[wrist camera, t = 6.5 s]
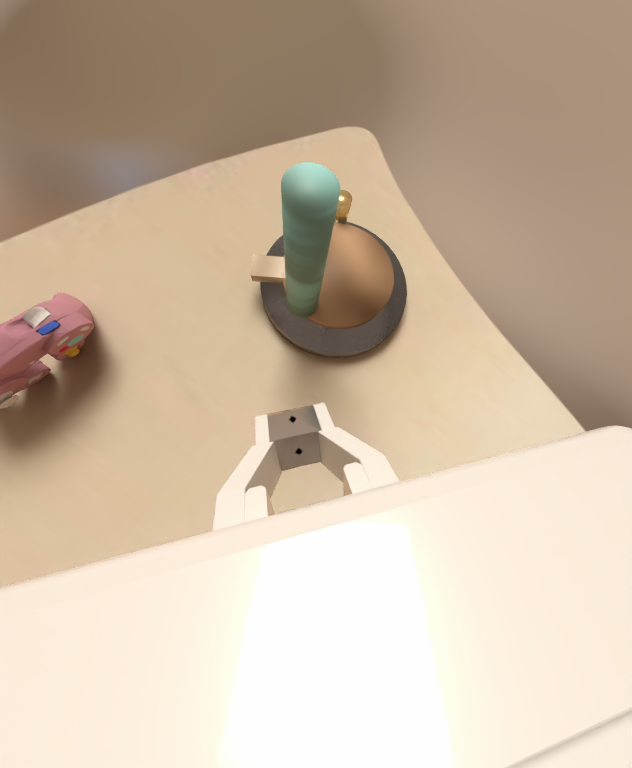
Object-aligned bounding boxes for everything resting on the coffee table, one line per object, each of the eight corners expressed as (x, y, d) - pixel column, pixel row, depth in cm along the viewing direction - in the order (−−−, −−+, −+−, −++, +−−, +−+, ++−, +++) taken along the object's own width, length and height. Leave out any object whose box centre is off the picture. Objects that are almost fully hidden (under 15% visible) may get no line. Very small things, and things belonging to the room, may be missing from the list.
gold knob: (344, 234, 24) (351, 207, 21) (328, 231, 24) (333, 203, 21) (345, 220, 24) (352, 192, 21) (329, 218, 24) (335, 188, 21)
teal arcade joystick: (328, 203, 23) (357, 17, 13) (411, 282, 23) (515, 153, 12) (241, 270, 21) (191, 112, 11) (330, 359, 21) (371, 284, 10)
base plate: (399, 366, 23) (406, 362, 21) (250, 346, 22) (247, 340, 20) (404, 239, 26) (411, 227, 24) (272, 217, 25) (271, 202, 23)
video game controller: (29, 409, 21) (-47, 436, 14) (-34, 372, 19) (-152, 384, 13) (123, 331, 23) (93, 325, 16) (74, 291, 21) (19, 267, 15)
